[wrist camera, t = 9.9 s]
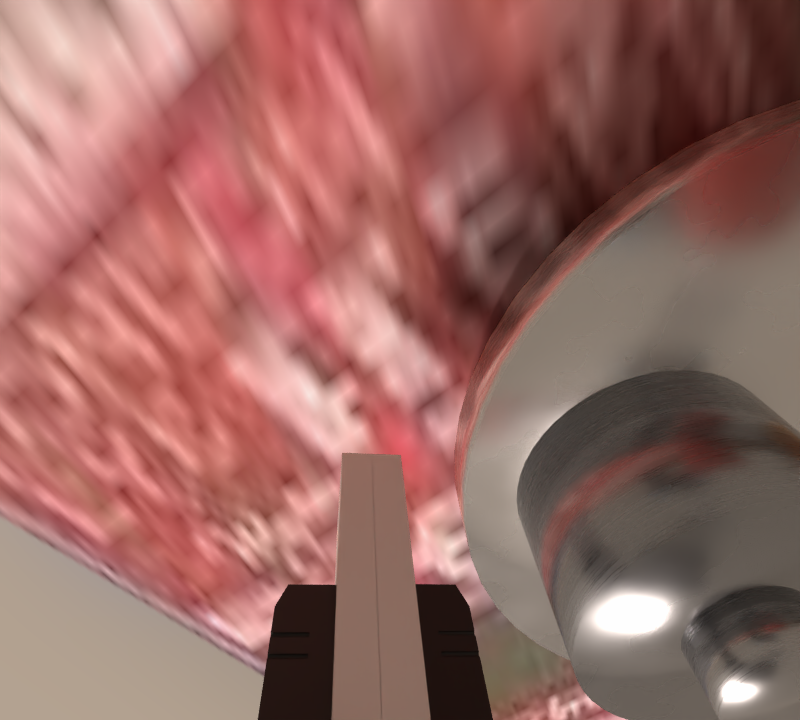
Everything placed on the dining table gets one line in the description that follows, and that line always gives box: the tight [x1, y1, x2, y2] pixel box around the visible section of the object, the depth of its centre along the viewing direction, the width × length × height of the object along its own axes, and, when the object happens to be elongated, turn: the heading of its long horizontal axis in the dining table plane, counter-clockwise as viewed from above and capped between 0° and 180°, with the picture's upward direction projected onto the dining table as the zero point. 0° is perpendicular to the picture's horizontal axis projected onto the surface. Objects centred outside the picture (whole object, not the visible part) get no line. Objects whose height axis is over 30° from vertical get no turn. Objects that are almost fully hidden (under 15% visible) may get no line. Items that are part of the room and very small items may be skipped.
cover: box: [517, 370, 800, 720], centre depth 14 cm, size 8×8×6 cm
